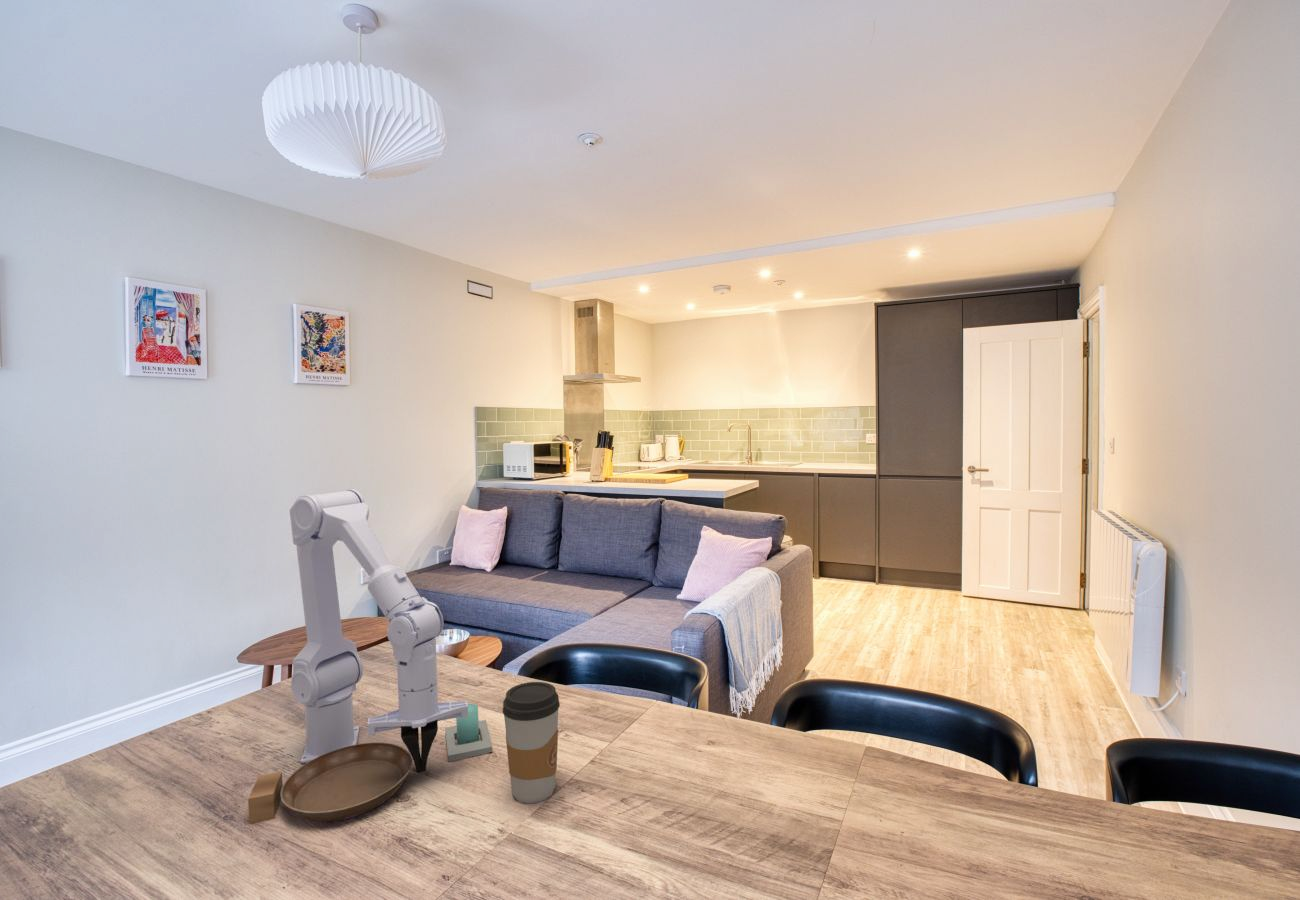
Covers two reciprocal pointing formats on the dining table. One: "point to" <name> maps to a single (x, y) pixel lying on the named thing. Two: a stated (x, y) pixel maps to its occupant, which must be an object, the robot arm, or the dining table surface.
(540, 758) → the coffee cup
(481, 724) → the socket block
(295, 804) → the plant saucer
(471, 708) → the dowel
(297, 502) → the robot arm
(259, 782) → the stop block
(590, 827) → the dining table surface
